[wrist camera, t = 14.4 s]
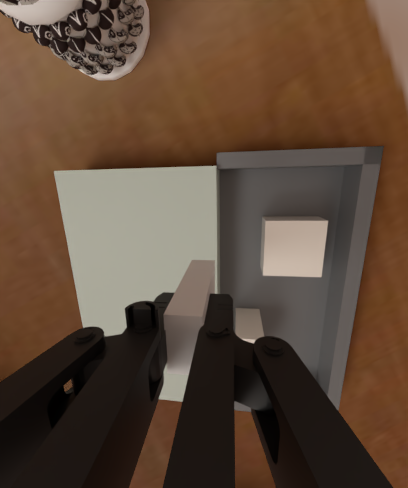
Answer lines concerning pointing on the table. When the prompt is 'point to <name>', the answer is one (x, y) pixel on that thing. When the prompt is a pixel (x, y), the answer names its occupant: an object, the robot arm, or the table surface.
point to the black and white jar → (86, 32)
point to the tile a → (248, 324)
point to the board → (137, 239)
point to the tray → (335, 256)
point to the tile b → (293, 245)
